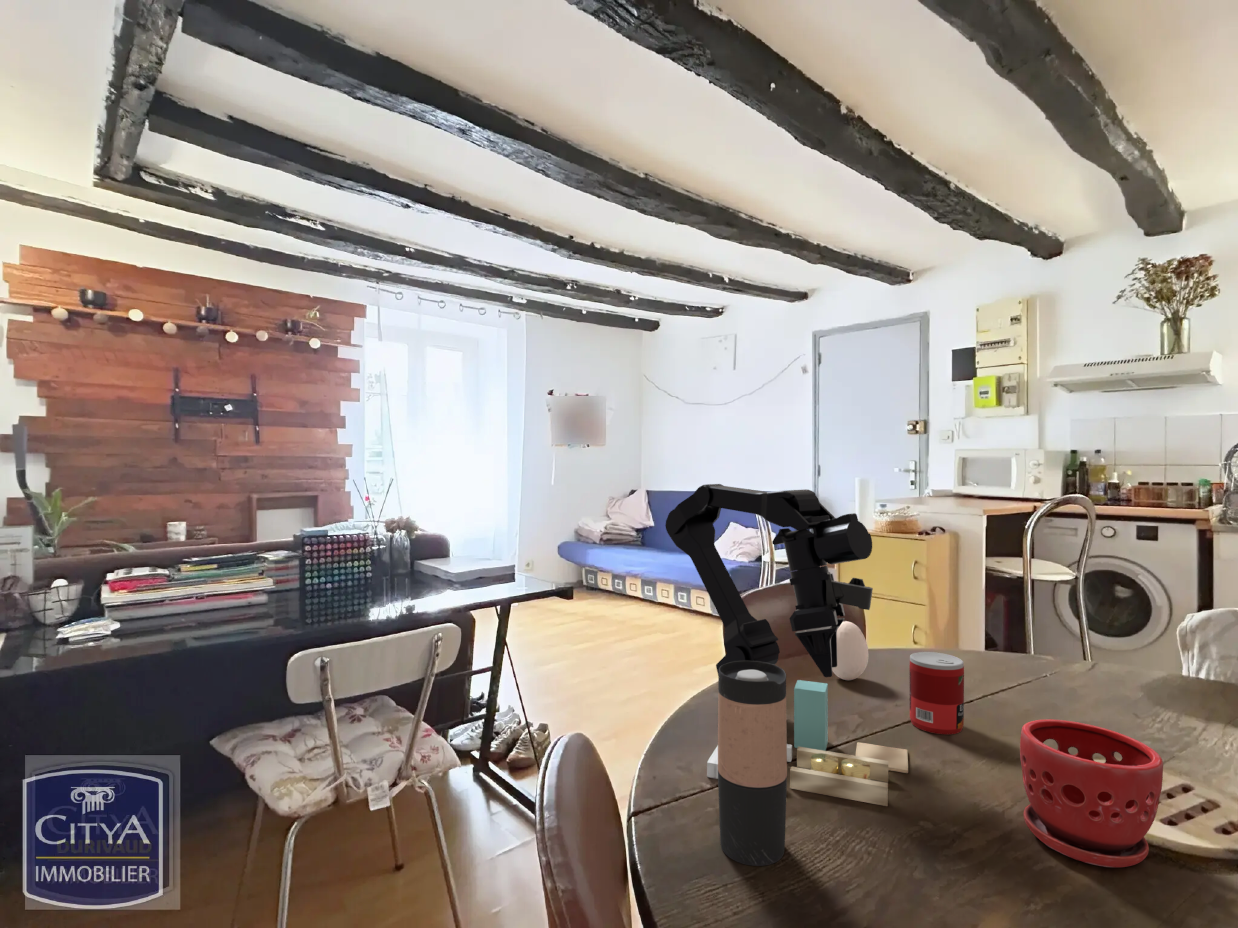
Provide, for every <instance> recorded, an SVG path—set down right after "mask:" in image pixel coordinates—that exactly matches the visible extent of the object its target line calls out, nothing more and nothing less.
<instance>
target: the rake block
mask: <svg viewBox="0 0 1238 928" xmlns="http://www.w3.org/2000/svg"><path fill="white" fill-rule="evenodd" d="M828 696H829V684H828V683H827V682H818V681H808V680H803V679H802V680H801V679H797V680H796V683H795V685H794V688H793V723H794V724H793V731H794V732H793V745H794V746H793V747H794V748H796V749H797V748H798V747H805V748H811V749H817V750H823V751H827V746H828V743H829V740H828V739H829V732H828V731H829V728H828V727H829V726H828V724H829V723H828V720H829V710H828V707H829V706H828V705H829V701H828V699H829V697H828Z"/></svg>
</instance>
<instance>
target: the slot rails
mask: <svg viewBox="0 0 1238 928" xmlns="http://www.w3.org/2000/svg"><path fill="white" fill-rule="evenodd" d="M817 753H824V754H829V755H832V756H834V757H836V758H837V759H838V774H833V773H827V772H821V771H815V770H811V756H812V755H813V754H817ZM848 758H855V759H860V760H863V761H865V762H867V763H868V764H869V765H870V780H867V779H861V778H856V777H850V776H844V775H841V762H842V760H844V759H848ZM888 788H889V770H888V761H885V760H879V759H873V758H867V757H861V756H855V755H854V754H848V753H842V752H841V753H840V752H836V751H835V752H834V751H830V750H829V751H828V750H826V751H823V750H817V749H811V748H805V747H798V748H796V766H791V767H790V769H789V789H793V790H798V791H803V792H807V793H812V794H820V795H824V796H830V797H835V798H841V799H846V800H852V801H856V802H857V801H858V802H862V803H863V802H864V803H868V804H871V805H872V804H873V805H878V806H883V807H888V803H889V802H888V801H889V796H888V795H889V794H888V793H889V791H888V790H889V789H888Z"/></svg>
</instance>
